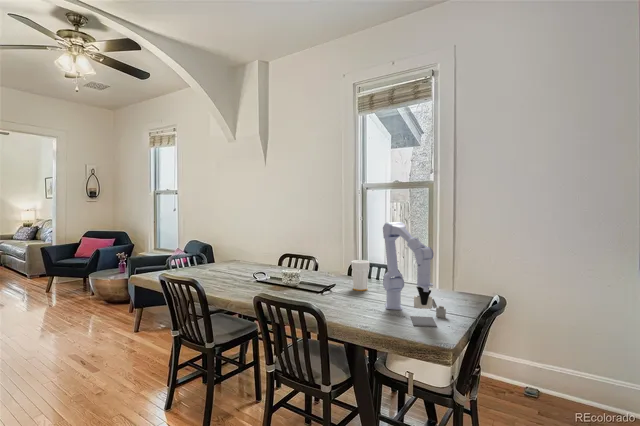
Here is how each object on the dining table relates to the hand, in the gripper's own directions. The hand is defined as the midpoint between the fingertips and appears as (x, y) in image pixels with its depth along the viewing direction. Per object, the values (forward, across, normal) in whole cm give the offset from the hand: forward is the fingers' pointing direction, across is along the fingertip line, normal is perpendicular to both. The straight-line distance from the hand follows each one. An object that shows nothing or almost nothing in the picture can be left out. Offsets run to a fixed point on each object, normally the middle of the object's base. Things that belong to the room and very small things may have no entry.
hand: (423, 303), depth 157 cm
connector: (+2, 0, 0) cm, 2 cm away
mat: (+8, 0, 0) cm, 8 cm away
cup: (+9, +55, +30) cm, 63 cm away
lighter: (+9, +9, -8) cm, 15 cm away
